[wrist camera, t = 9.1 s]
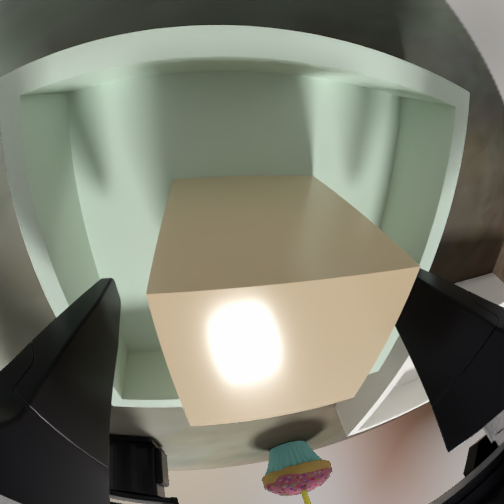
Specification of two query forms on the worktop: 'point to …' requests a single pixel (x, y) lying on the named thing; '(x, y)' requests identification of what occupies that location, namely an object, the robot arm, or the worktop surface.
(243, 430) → the worktop surface
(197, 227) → the beige plain cubic block
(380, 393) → the bin
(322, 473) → the cupcake
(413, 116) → the bin
